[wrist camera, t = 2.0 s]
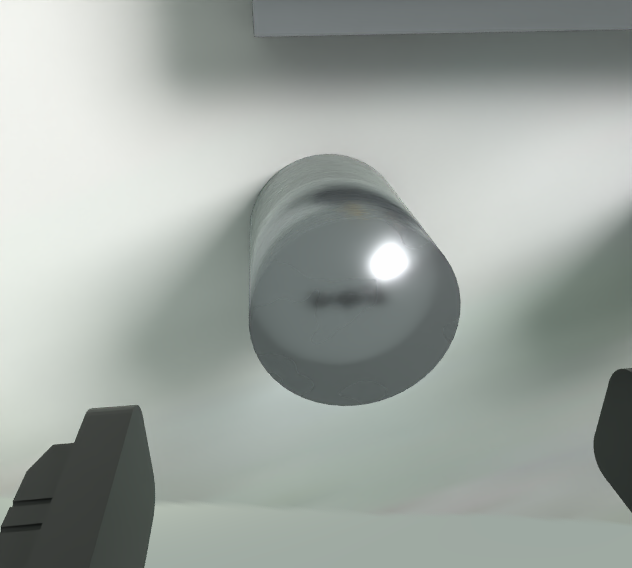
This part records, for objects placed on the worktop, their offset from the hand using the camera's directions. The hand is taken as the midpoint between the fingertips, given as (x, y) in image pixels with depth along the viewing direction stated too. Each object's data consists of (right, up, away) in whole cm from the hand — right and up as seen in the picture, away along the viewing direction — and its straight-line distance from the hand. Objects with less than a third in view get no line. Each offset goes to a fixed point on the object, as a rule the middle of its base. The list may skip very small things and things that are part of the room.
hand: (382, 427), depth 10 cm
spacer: (-1, +4, +9) cm, 10 cm away
